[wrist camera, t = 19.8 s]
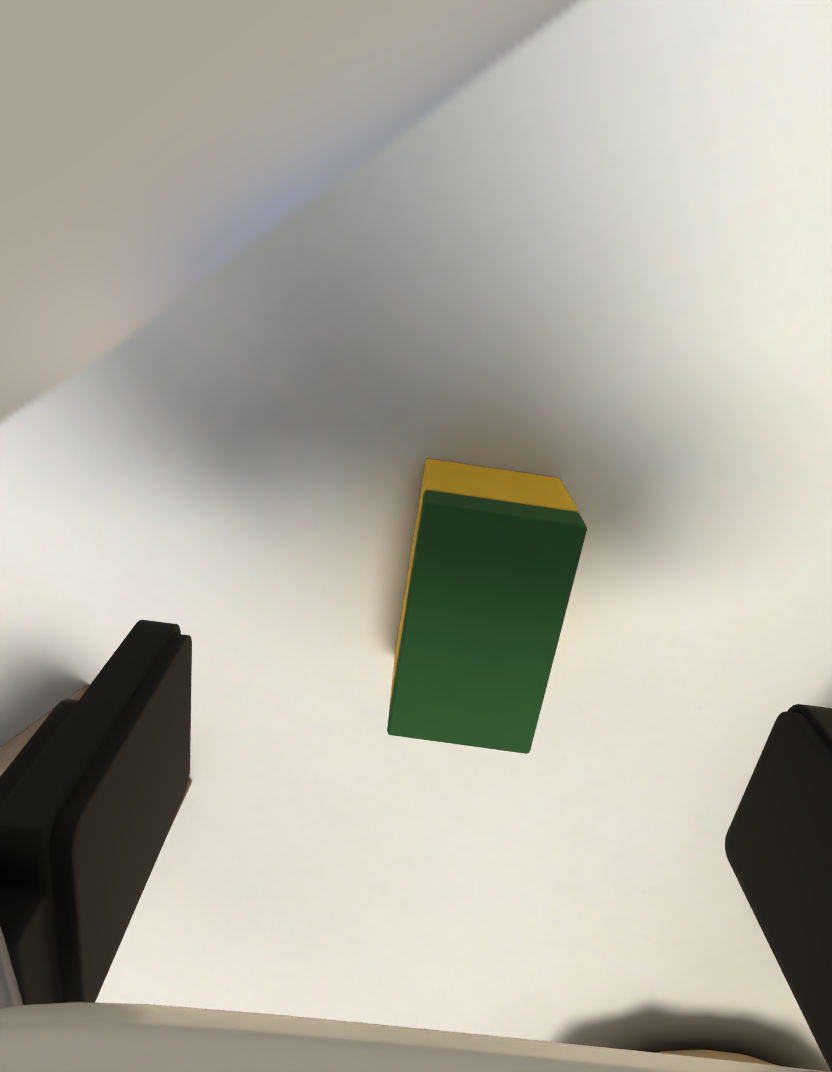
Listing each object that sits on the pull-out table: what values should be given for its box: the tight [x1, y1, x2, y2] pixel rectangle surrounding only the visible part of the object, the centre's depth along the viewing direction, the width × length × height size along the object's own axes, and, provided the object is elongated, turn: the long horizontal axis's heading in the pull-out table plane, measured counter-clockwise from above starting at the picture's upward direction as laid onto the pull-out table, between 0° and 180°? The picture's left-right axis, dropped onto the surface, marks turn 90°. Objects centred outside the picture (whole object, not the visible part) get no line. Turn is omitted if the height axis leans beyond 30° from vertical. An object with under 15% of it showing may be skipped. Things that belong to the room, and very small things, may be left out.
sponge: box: [387, 459, 587, 754], centre depth 17 cm, size 6×4×4 cm, turn 172°
